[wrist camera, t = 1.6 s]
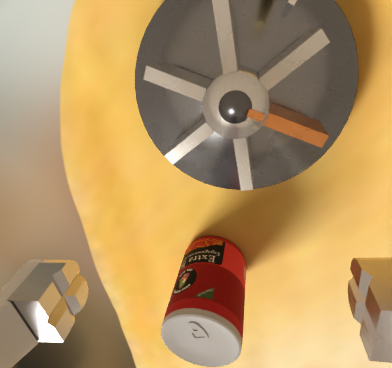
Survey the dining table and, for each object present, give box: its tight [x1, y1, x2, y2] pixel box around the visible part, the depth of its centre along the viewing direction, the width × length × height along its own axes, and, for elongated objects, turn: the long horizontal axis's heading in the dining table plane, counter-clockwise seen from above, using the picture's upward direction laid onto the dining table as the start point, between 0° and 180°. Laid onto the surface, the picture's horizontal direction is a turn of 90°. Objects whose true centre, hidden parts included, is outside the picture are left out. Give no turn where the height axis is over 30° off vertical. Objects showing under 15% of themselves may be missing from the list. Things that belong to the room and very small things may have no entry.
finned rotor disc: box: [144, 0, 330, 191], centre depth 22 cm, size 14×13×4 cm
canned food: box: [161, 236, 246, 367], centre depth 31 cm, size 8×8×11 cm
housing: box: [135, 0, 358, 190], centre depth 24 cm, size 18×18×4 cm
